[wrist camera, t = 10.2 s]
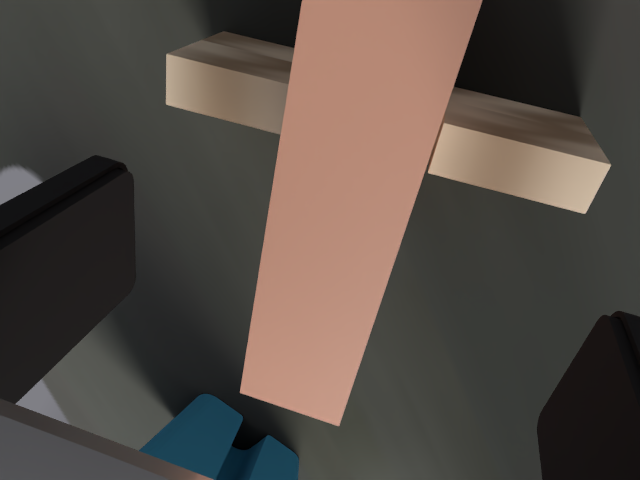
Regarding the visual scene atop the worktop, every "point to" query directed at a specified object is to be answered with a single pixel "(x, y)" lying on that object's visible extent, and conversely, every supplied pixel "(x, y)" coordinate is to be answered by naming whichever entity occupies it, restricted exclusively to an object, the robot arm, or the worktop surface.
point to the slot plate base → (452, 139)
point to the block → (219, 445)
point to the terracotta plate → (346, 187)
